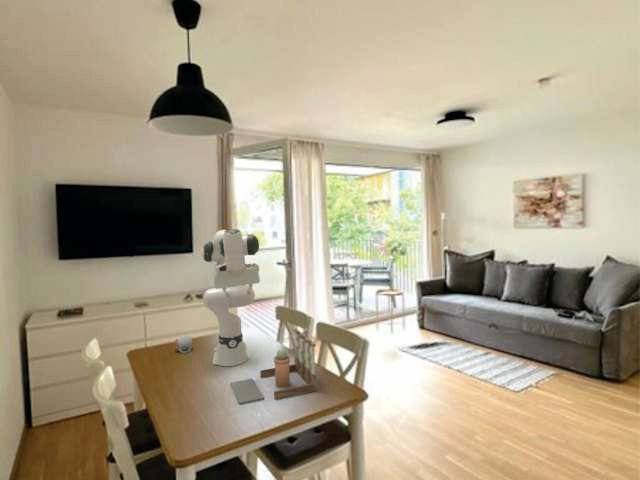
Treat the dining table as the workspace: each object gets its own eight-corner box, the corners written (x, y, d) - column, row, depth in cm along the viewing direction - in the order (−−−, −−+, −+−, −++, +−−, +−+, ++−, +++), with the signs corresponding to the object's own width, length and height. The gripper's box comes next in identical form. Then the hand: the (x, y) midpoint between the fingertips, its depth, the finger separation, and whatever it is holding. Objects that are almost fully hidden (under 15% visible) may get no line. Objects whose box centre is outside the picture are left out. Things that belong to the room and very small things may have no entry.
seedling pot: (272, 382, 165) (271, 347, 164) (287, 379, 167) (287, 345, 166) (277, 389, 158) (276, 353, 157) (293, 386, 161) (292, 350, 160)
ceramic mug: (175, 349, 210) (175, 336, 209) (190, 346, 214) (189, 333, 214) (178, 355, 201) (178, 341, 200) (194, 352, 205) (193, 338, 204)
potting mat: (230, 384, 164) (230, 382, 164) (252, 380, 168) (252, 378, 167) (239, 404, 145) (239, 402, 145) (264, 399, 149) (263, 397, 149)
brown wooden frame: (260, 376, 171) (259, 333, 170) (297, 369, 178) (296, 328, 177) (274, 399, 149) (273, 350, 148) (316, 390, 156) (315, 343, 155)
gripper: (257, 262, 172) (259, 291, 173) (211, 267, 166) (214, 297, 166) (259, 263, 167) (262, 293, 167) (212, 268, 160) (216, 300, 160)
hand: (238, 295), depth 167 cm, fingers open, 8 cm apart
